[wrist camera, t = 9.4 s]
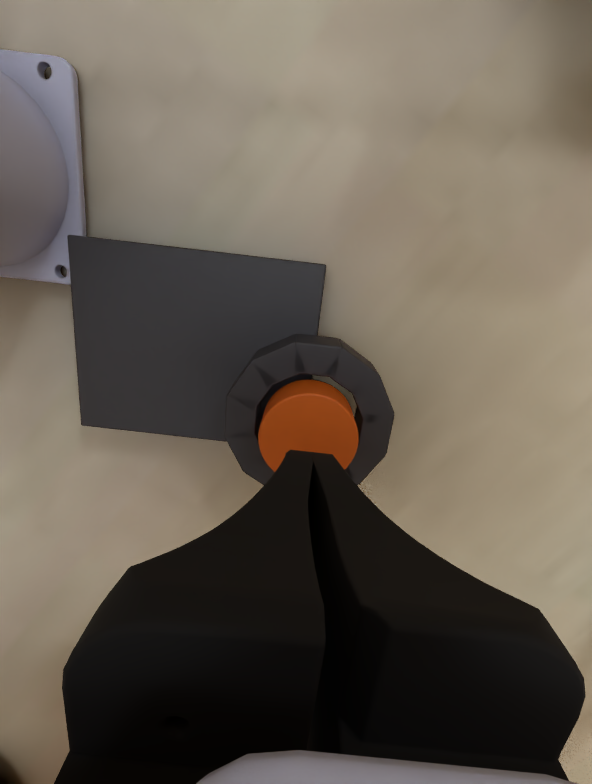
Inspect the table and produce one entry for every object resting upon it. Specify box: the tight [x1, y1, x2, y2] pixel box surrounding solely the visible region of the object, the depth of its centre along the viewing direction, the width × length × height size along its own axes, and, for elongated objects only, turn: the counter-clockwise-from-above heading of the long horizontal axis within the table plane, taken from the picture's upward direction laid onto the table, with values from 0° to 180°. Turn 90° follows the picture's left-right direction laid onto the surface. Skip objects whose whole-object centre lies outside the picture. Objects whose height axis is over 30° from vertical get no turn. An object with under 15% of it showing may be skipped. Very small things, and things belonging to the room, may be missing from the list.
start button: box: [258, 379, 359, 472], centre depth 15 cm, size 4×4×2 cm
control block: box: [67, 235, 394, 485], centre depth 16 cm, size 13×9×4 cm
